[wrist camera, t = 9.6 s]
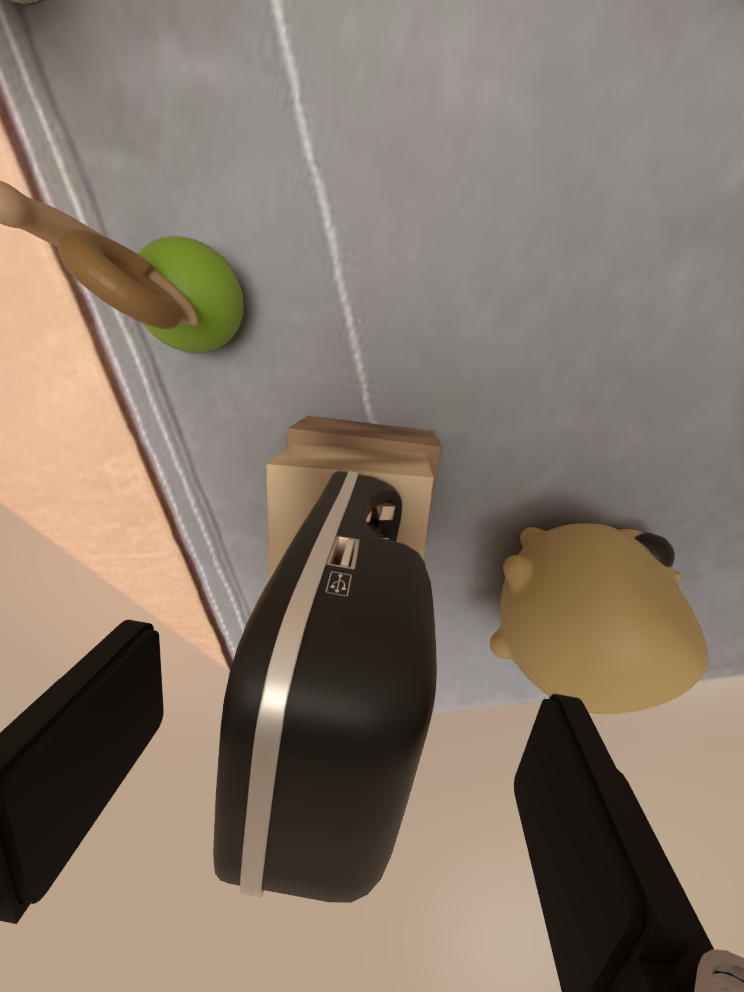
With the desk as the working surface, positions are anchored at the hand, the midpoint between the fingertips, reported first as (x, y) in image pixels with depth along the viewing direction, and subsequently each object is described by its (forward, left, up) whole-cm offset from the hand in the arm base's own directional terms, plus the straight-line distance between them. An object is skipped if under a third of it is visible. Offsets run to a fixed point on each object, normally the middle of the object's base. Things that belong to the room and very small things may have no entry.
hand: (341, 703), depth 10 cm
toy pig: (-13, +4, -18) cm, 23 cm away
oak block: (+1, 0, -13) cm, 13 cm away
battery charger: (0, 0, -9) cm, 9 cm away
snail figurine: (+12, -10, -18) cm, 24 cm away
